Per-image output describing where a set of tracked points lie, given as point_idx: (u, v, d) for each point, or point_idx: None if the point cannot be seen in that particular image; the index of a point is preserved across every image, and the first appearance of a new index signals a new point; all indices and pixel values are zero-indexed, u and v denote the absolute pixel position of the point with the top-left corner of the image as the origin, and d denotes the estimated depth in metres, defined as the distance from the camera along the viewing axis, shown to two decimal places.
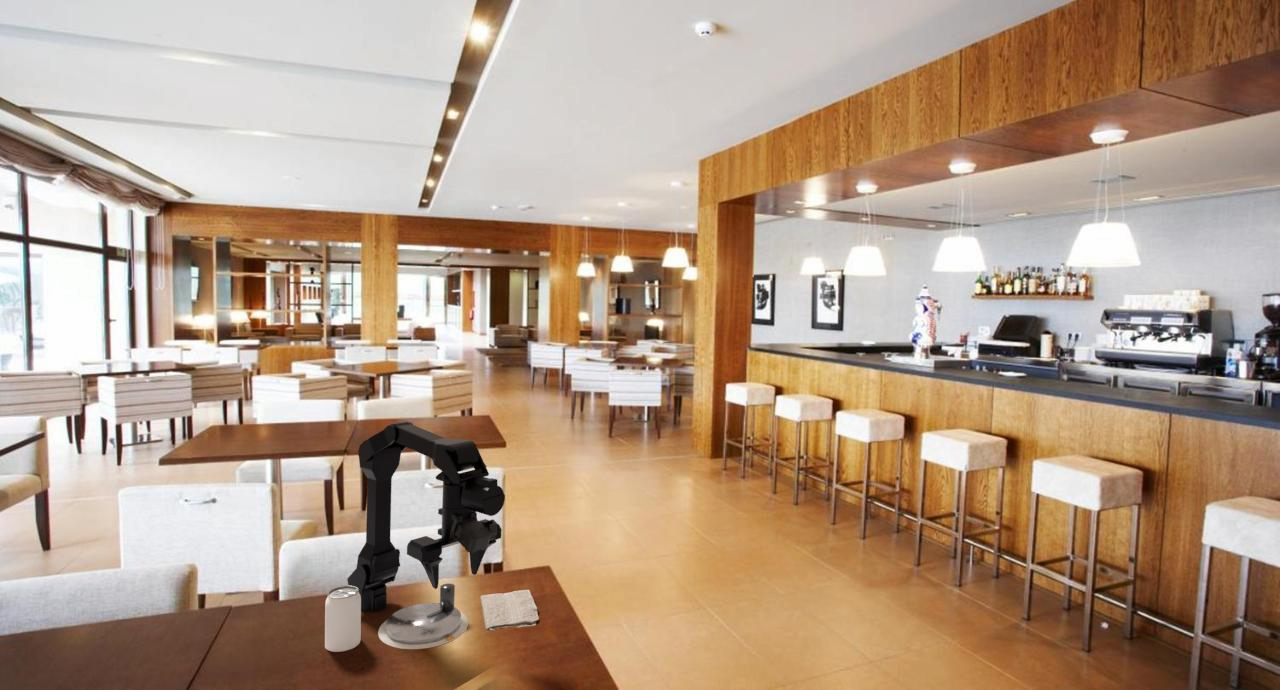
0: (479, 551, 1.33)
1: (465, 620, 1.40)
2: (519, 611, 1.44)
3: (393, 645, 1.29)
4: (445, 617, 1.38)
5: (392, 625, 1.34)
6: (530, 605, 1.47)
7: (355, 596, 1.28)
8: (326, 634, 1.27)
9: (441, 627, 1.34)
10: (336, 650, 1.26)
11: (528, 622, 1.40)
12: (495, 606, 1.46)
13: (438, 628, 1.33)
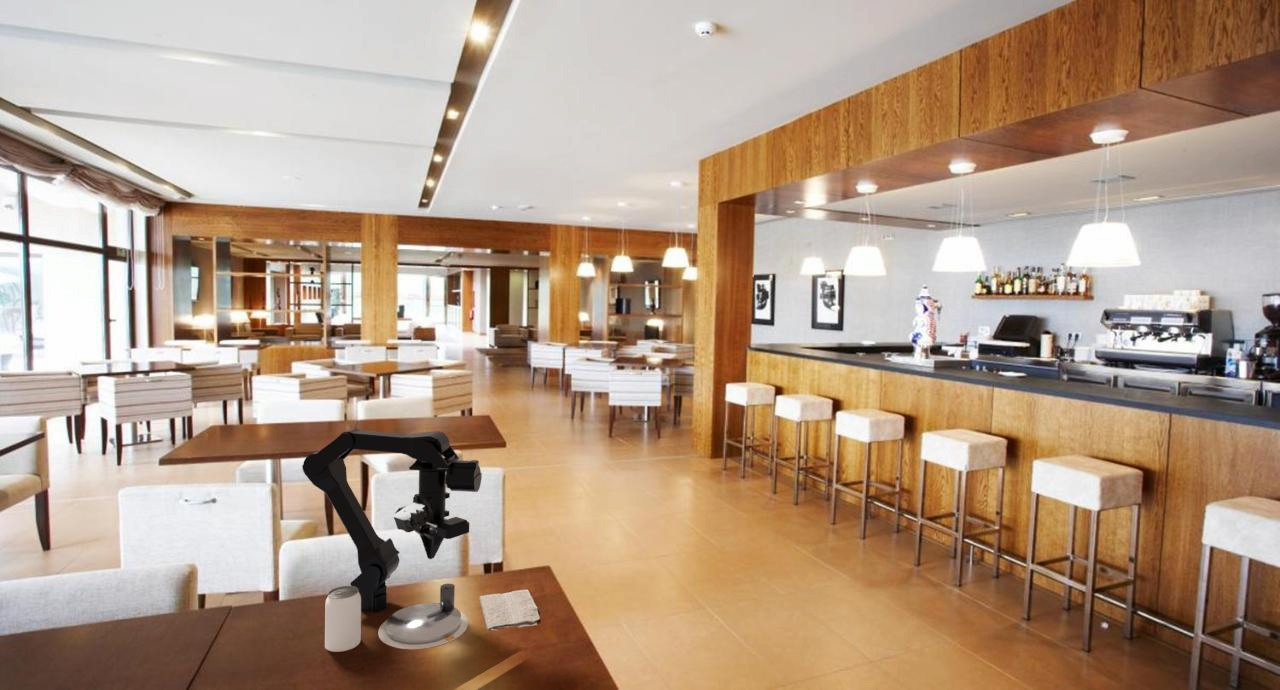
0: None
1: (465, 620, 1.40)
2: (520, 611, 1.44)
3: (393, 645, 1.29)
4: (445, 617, 1.38)
5: (392, 625, 1.34)
6: (530, 605, 1.47)
7: (355, 596, 1.28)
8: (326, 634, 1.27)
9: (441, 627, 1.34)
10: (336, 650, 1.26)
11: (529, 622, 1.40)
12: (495, 606, 1.46)
13: (438, 628, 1.33)
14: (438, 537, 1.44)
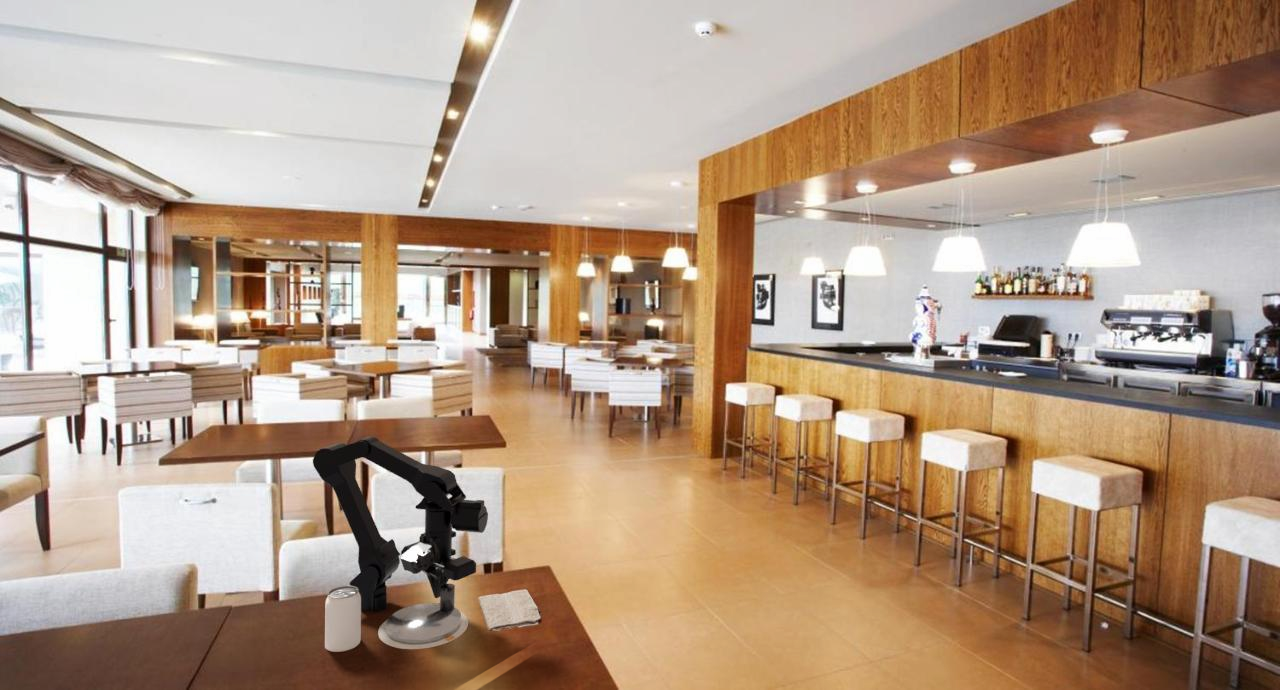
0: None
1: (465, 620, 1.40)
2: (520, 610, 1.44)
3: (393, 645, 1.29)
4: (445, 617, 1.38)
5: (392, 625, 1.34)
6: (530, 604, 1.47)
7: (355, 596, 1.28)
8: (326, 634, 1.27)
9: (441, 627, 1.34)
10: (336, 650, 1.26)
11: (530, 621, 1.40)
12: (495, 607, 1.46)
13: (438, 628, 1.33)
14: (444, 576, 1.44)
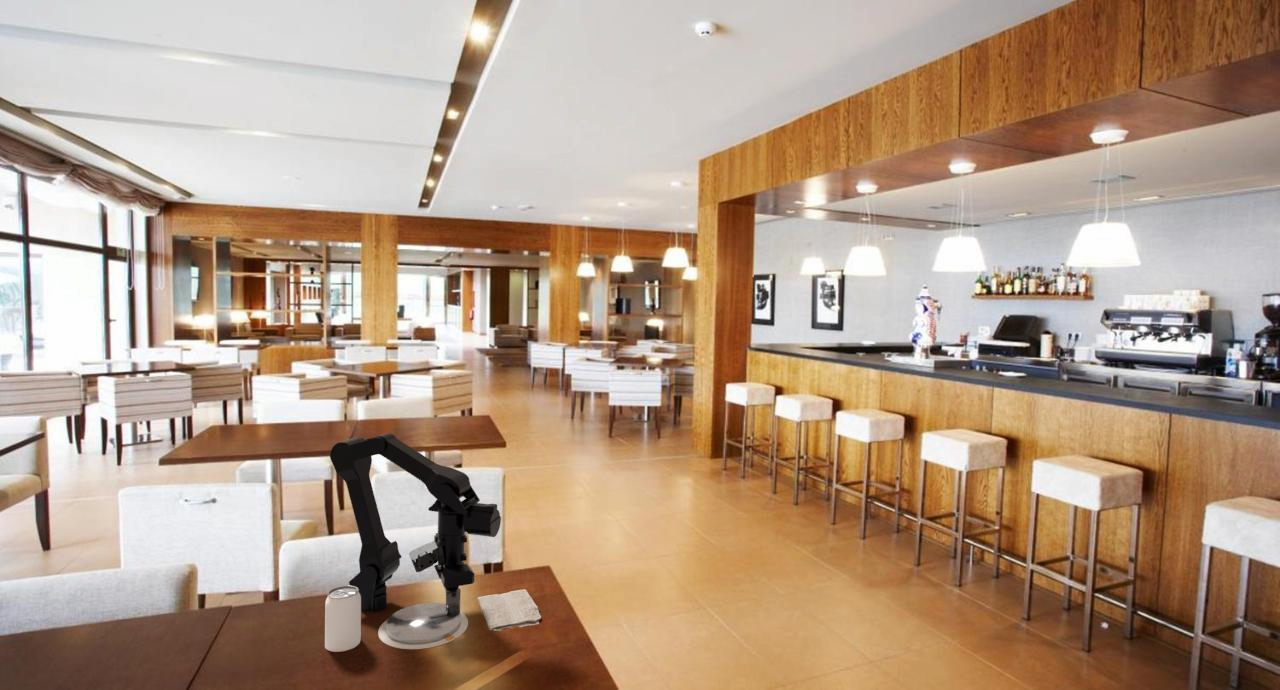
0: None
1: (465, 620, 1.40)
2: (520, 610, 1.45)
3: (393, 645, 1.29)
4: (442, 622, 1.36)
5: (393, 618, 1.37)
6: (530, 604, 1.47)
7: (355, 596, 1.28)
8: (326, 634, 1.27)
9: (429, 631, 1.32)
10: (336, 650, 1.26)
11: (531, 621, 1.40)
12: (495, 607, 1.45)
13: (426, 631, 1.32)
14: None
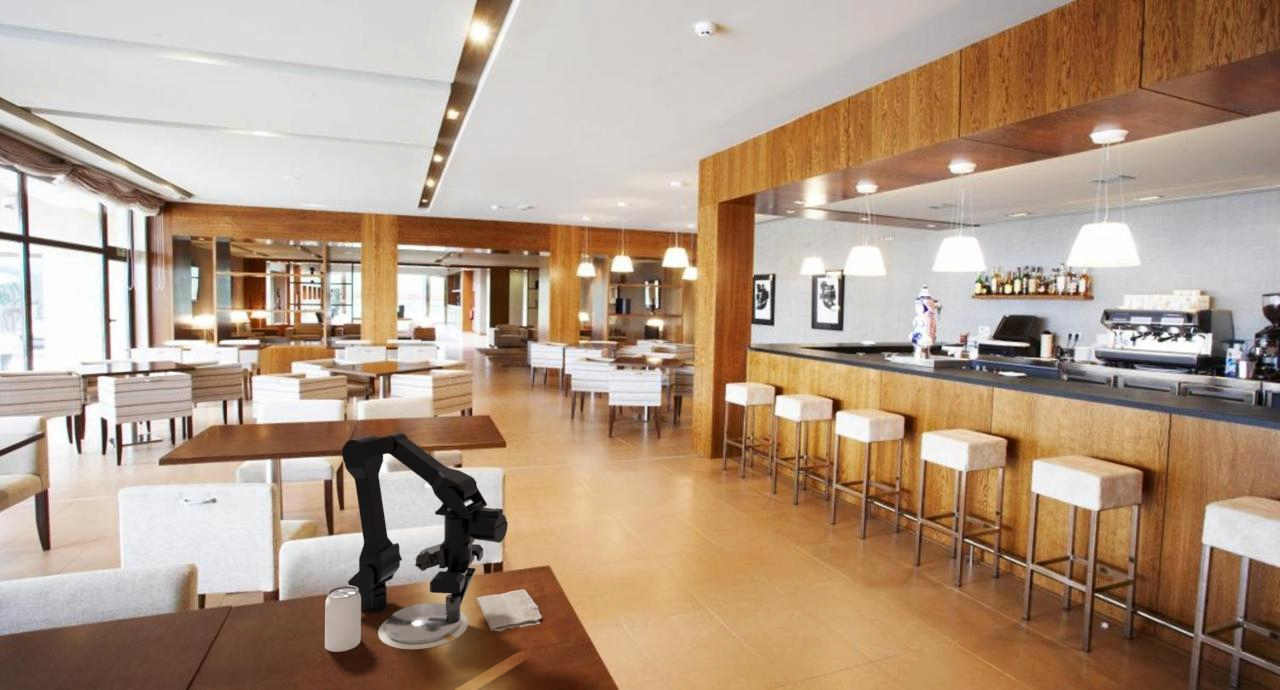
0: None
1: (465, 620, 1.40)
2: (521, 610, 1.45)
3: (393, 645, 1.29)
4: (434, 626, 1.34)
5: (401, 612, 1.40)
6: (530, 604, 1.48)
7: (355, 596, 1.28)
8: (326, 634, 1.27)
9: (414, 632, 1.31)
10: (336, 650, 1.26)
11: (532, 621, 1.41)
12: (495, 607, 1.45)
13: (412, 631, 1.32)
14: None
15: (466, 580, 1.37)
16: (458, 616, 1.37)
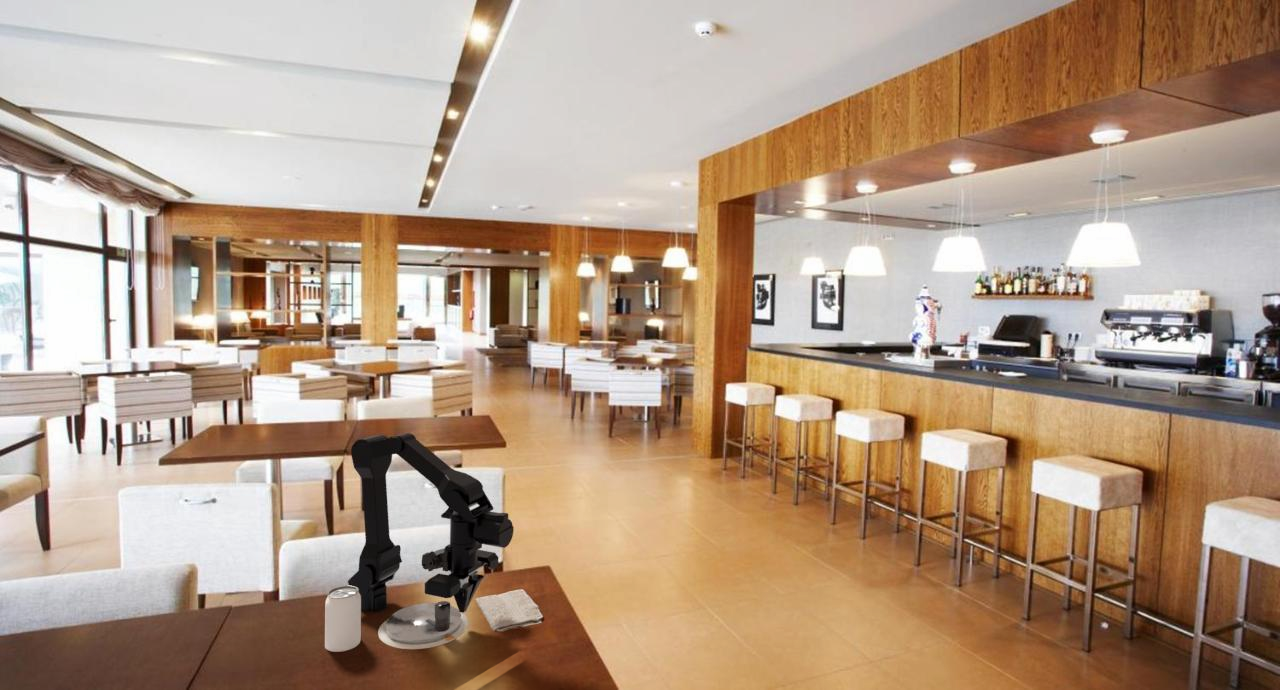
0: None
1: (465, 620, 1.40)
2: (521, 610, 1.45)
3: (393, 645, 1.29)
4: (420, 629, 1.33)
5: (419, 606, 1.43)
6: (530, 604, 1.48)
7: (355, 596, 1.28)
8: (326, 634, 1.27)
9: (399, 629, 1.32)
10: (336, 650, 1.26)
11: (534, 620, 1.41)
12: (495, 607, 1.45)
13: (399, 627, 1.33)
14: (462, 592, 1.36)
15: (465, 587, 1.34)
16: (443, 626, 1.32)
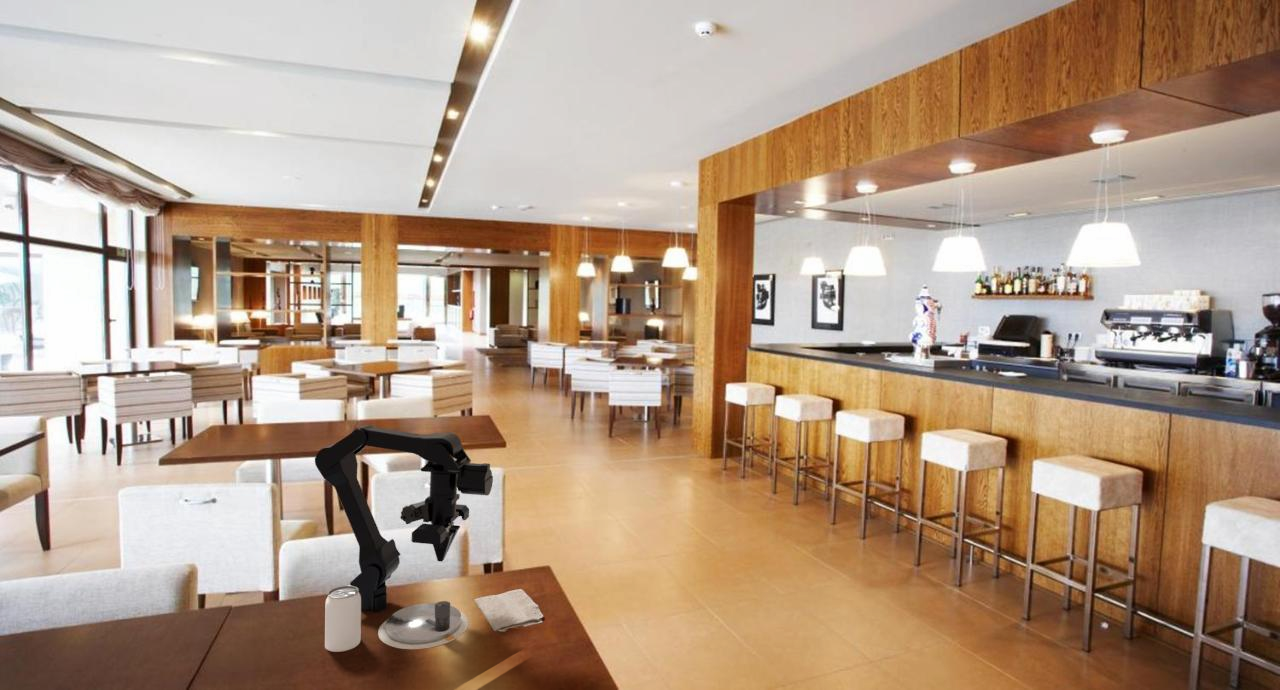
0: None
1: (465, 620, 1.40)
2: (522, 610, 1.45)
3: (393, 645, 1.29)
4: (420, 629, 1.33)
5: (419, 606, 1.43)
6: (530, 603, 1.48)
7: (355, 596, 1.28)
8: (326, 634, 1.27)
9: (399, 629, 1.32)
10: (336, 650, 1.26)
11: (534, 620, 1.41)
12: (495, 608, 1.45)
13: (399, 627, 1.33)
14: (442, 541, 1.42)
15: (448, 535, 1.40)
16: (443, 626, 1.32)
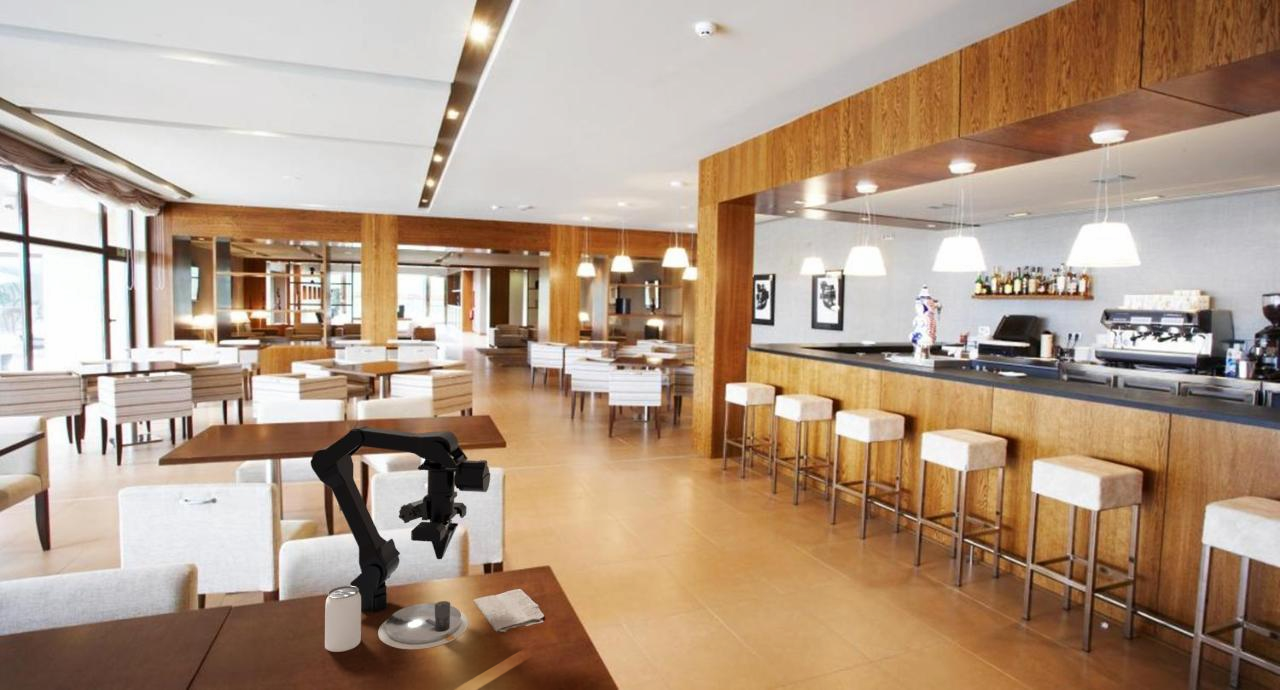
0: None
1: (465, 620, 1.40)
2: (522, 610, 1.45)
3: (393, 645, 1.29)
4: (420, 629, 1.33)
5: (419, 606, 1.43)
6: (529, 603, 1.48)
7: (356, 596, 1.28)
8: (326, 634, 1.27)
9: (399, 629, 1.32)
10: (336, 650, 1.26)
11: (535, 619, 1.41)
12: (495, 608, 1.45)
13: (399, 627, 1.33)
14: (441, 539, 1.43)
15: (447, 533, 1.41)
16: (443, 626, 1.32)
